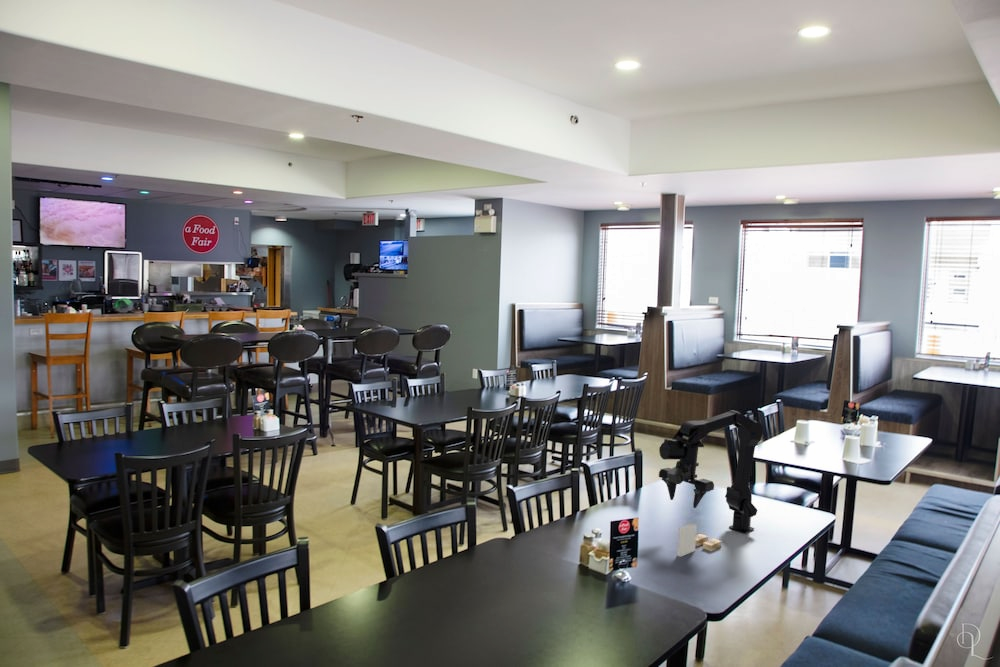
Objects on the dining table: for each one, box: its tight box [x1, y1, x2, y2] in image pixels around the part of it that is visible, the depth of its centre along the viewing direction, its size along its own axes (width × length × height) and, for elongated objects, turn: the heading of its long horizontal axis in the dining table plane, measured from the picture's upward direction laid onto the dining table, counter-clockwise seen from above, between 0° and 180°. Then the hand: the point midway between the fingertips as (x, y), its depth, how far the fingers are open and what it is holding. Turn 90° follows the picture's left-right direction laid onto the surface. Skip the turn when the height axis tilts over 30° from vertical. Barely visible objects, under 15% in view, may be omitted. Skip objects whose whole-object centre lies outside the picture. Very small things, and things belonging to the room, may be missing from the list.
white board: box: [676, 522, 698, 558], centre depth 222 cm, size 8×1×9 cm, turn 130°
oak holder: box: [695, 533, 722, 552], centre depth 229 cm, size 6×8×2 cm
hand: (683, 503), depth 235 cm, fingers open, 9 cm apart
